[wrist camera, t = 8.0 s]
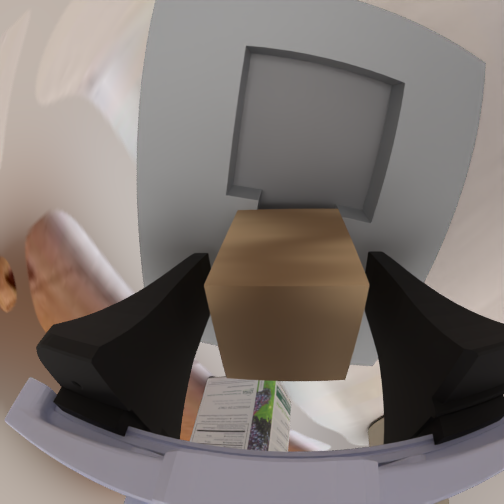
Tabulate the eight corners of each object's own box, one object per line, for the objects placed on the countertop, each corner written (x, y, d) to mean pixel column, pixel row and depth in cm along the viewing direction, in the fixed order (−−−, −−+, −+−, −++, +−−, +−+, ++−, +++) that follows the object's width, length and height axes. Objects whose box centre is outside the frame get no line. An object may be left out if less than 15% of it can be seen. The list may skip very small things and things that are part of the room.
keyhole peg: (332, 196, 12) (369, 284, 6) (328, 272, 14) (344, 379, 8) (243, 198, 12) (204, 285, 7) (250, 272, 14) (226, 378, 9)
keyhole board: (462, 65, 7) (485, 63, 6) (367, 343, 17) (372, 366, 15) (176, 1, 8) (158, -13, 6) (161, 308, 17) (150, 329, 15)
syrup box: (293, 402, 21) (280, 553, 9) (233, 407, 23) (206, 543, 11) (272, 368, 19) (247, 559, 6) (204, 376, 21) (159, 537, 8)
